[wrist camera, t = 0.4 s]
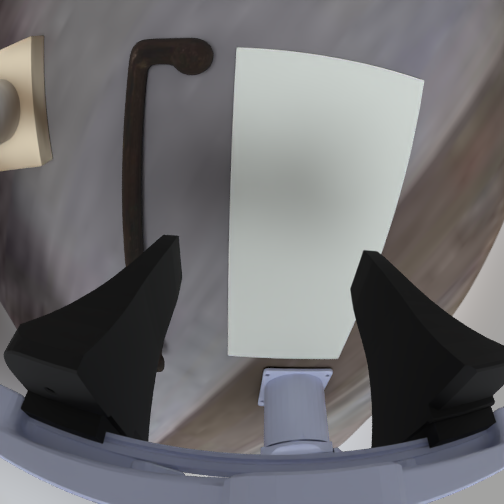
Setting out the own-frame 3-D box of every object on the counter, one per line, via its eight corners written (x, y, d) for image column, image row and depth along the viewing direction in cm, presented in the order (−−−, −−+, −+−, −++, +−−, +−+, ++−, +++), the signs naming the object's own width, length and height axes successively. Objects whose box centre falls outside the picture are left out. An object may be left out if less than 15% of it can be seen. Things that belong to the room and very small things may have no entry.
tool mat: (337, 357, 31) (337, 358, 31) (228, 354, 31) (227, 355, 31) (422, 80, 15) (423, 80, 15) (236, 47, 15) (236, 47, 14)
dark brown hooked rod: (223, 46, 16) (191, 359, 32) (151, 43, 16) (148, 349, 32) (206, 32, 12) (181, 397, 27) (116, 34, 12) (134, 385, 27)
